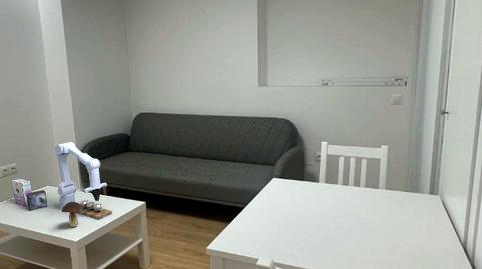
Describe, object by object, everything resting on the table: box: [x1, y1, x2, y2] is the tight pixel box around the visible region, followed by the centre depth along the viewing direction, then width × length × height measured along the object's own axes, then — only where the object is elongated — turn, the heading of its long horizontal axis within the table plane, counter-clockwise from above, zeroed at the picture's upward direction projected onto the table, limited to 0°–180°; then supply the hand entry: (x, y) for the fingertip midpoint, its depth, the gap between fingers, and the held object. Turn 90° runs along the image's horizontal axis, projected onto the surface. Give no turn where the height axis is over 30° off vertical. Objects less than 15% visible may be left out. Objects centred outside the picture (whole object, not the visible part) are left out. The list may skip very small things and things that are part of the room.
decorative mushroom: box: [61, 201, 83, 228], centre depth 200 cm, size 11×11×15 cm
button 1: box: [80, 199, 89, 208], centre depth 223 cm, size 4×4×4 cm
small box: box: [26, 189, 49, 212], centre depth 232 cm, size 11×6×10 cm, turn 131°
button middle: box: [87, 201, 96, 210], centre depth 220 cm, size 4×4×4 cm
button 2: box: [94, 203, 103, 212], centre depth 217 cm, size 4×4×4 cm
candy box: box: [11, 178, 33, 207], centre depth 241 cm, size 14×6×16 cm, turn 58°
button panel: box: [75, 205, 113, 221], centre depth 221 cm, size 26×10×2 cm, turn 58°
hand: (97, 200), depth 216 cm, fingers closed
